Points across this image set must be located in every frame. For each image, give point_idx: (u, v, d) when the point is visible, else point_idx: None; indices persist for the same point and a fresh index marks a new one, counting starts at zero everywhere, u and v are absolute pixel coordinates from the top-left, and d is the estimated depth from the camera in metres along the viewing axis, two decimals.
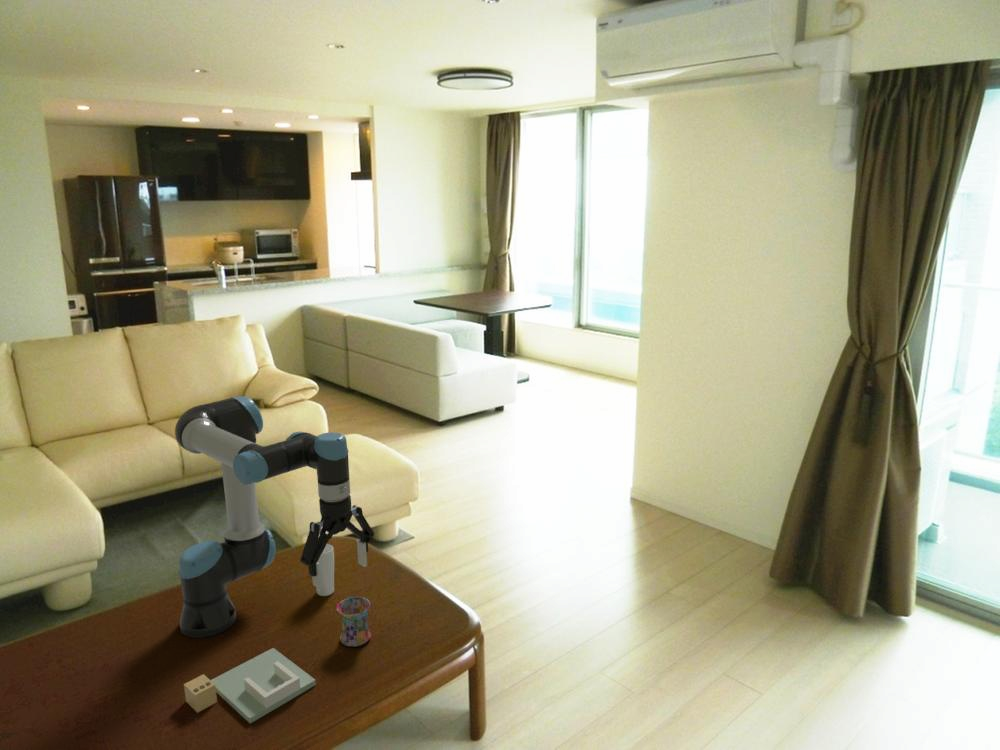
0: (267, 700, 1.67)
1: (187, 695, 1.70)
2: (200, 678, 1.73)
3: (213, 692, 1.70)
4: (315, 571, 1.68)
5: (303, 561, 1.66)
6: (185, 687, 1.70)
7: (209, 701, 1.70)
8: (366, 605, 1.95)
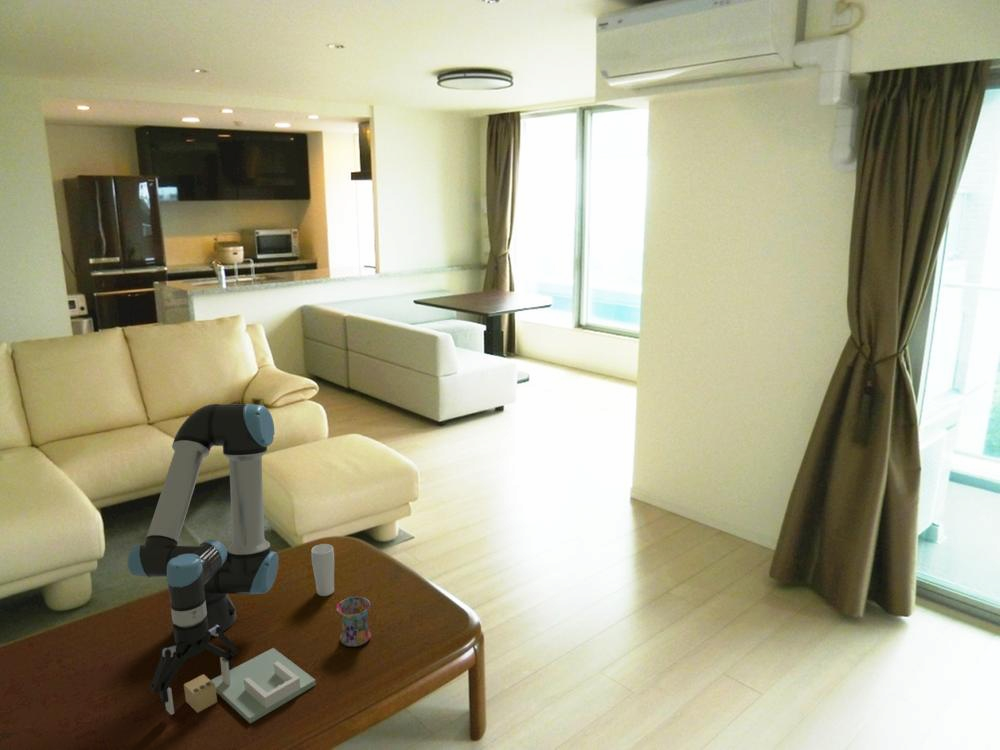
0: (267, 700, 1.67)
1: (187, 695, 1.70)
2: (200, 678, 1.73)
3: (213, 692, 1.70)
4: (166, 697, 1.64)
5: (152, 688, 1.61)
6: (185, 687, 1.70)
7: (209, 701, 1.70)
8: (366, 605, 1.95)
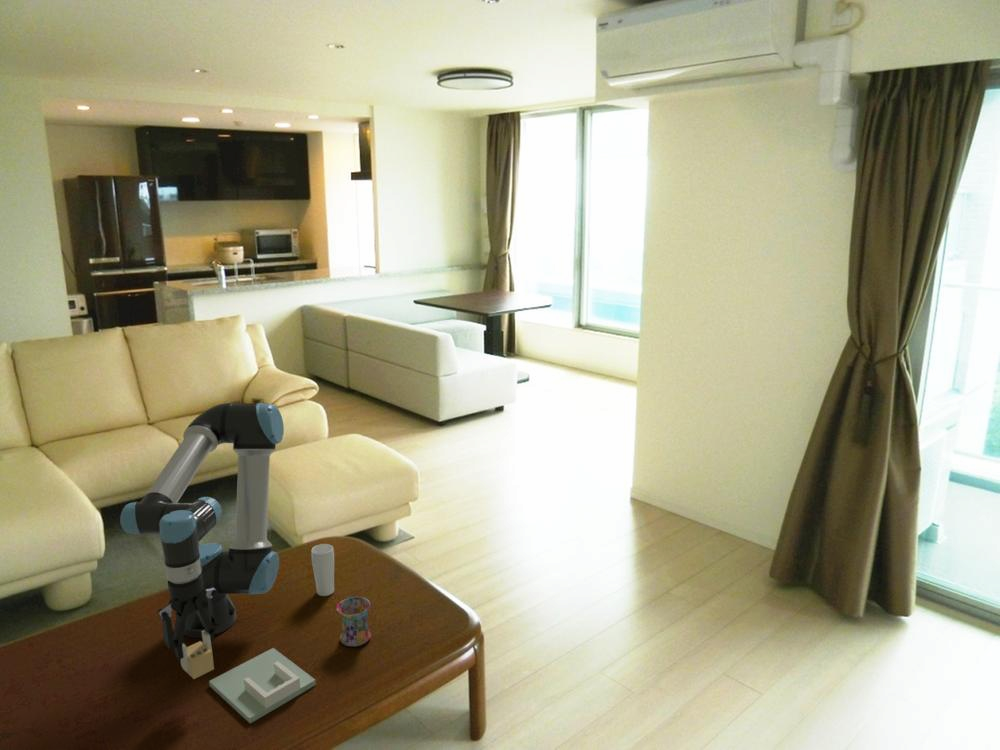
0: (267, 700, 1.67)
1: None
2: (197, 645, 1.71)
3: (210, 658, 1.68)
4: (182, 654, 1.65)
5: (167, 645, 1.63)
6: None
7: (206, 667, 1.68)
8: (366, 605, 1.95)
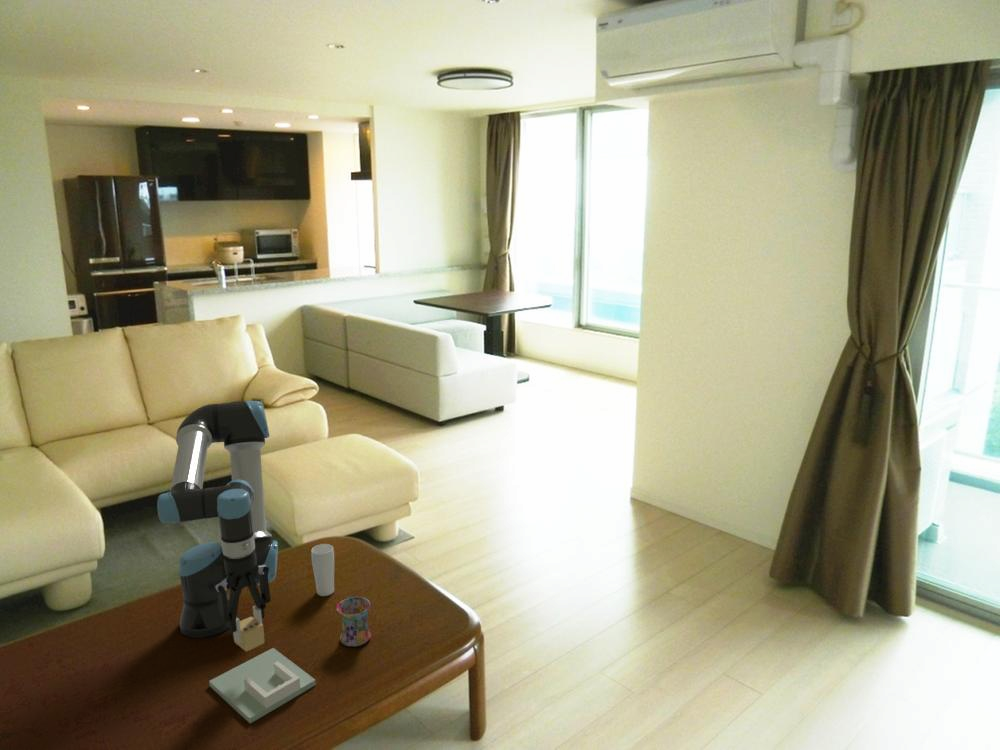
0: (267, 700, 1.67)
1: None
2: (248, 620, 1.78)
3: (261, 632, 1.76)
4: (235, 627, 1.73)
5: (222, 618, 1.71)
6: None
7: (257, 641, 1.75)
8: (366, 605, 1.95)
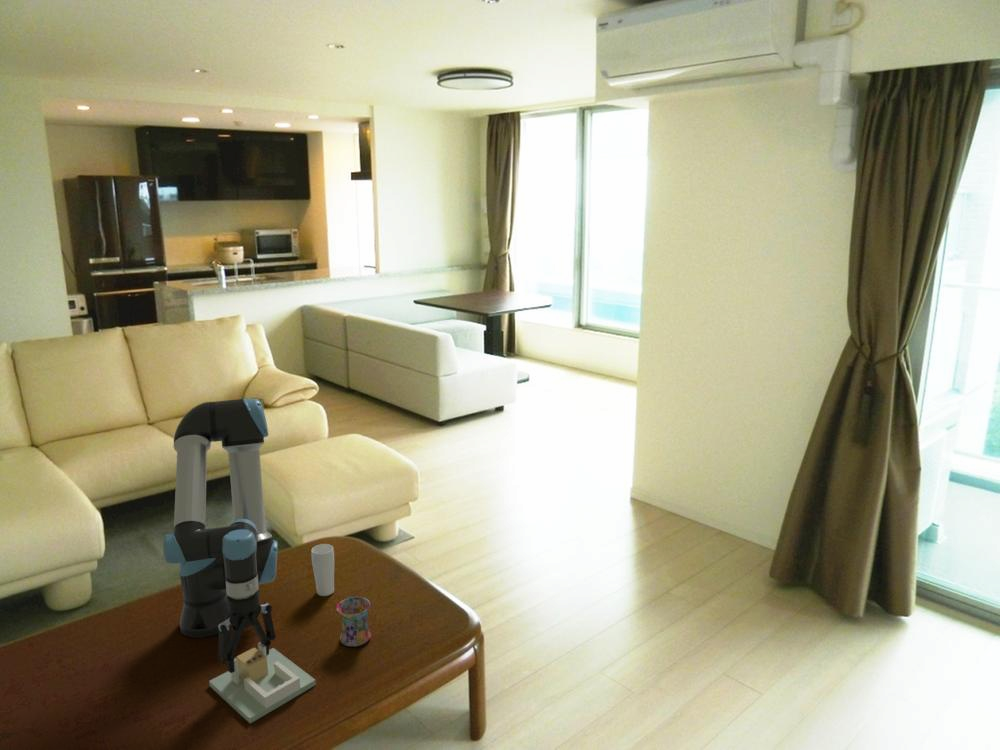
0: (267, 700, 1.67)
1: (240, 667, 1.78)
2: (251, 651, 1.80)
3: (264, 664, 1.78)
4: (233, 668, 1.74)
5: (220, 659, 1.72)
6: (238, 659, 1.78)
7: (261, 672, 1.77)
8: (366, 605, 1.95)
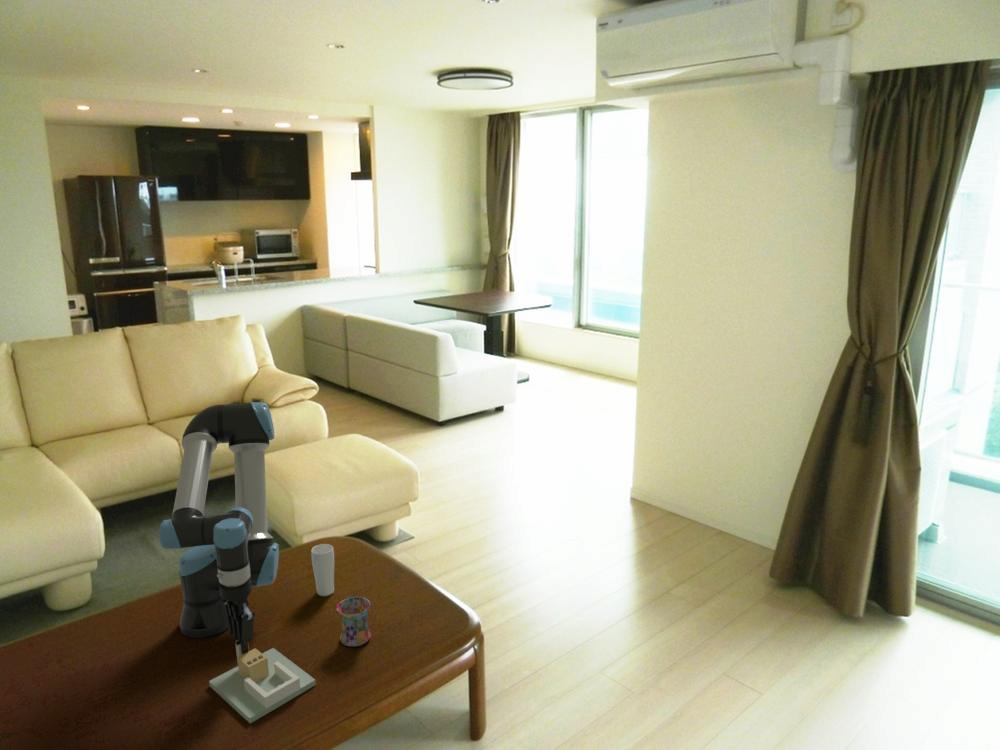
0: (267, 700, 1.67)
1: (241, 667, 1.77)
2: (252, 652, 1.80)
3: (265, 665, 1.78)
4: None
5: None
6: (238, 660, 1.78)
7: (261, 673, 1.77)
8: (366, 605, 1.95)
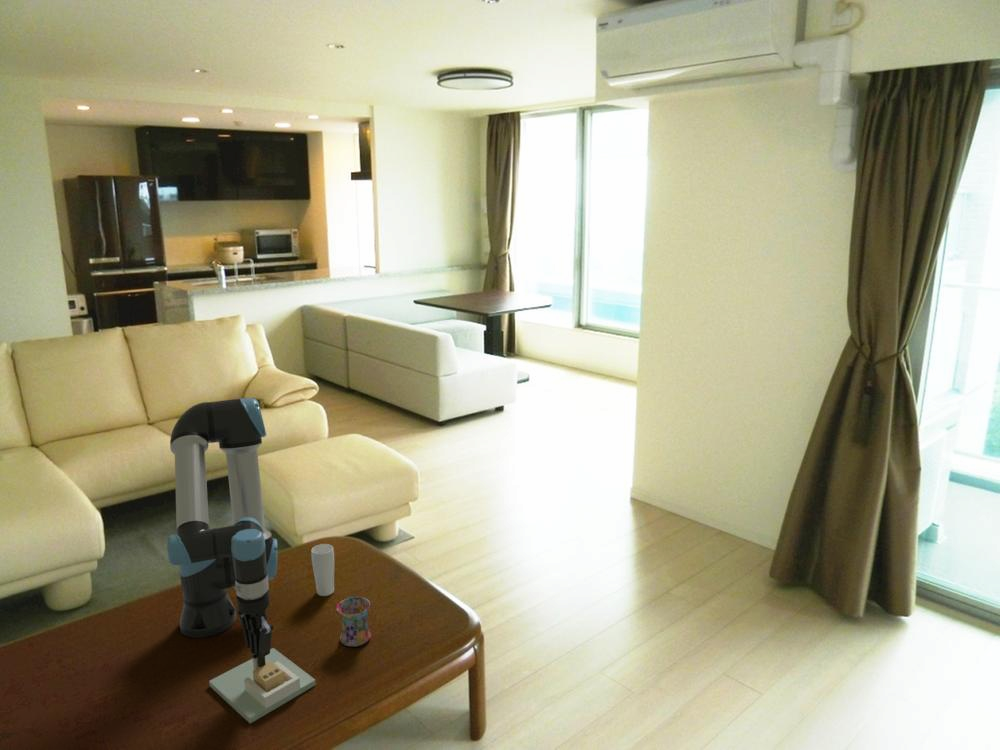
0: (267, 700, 1.67)
1: (256, 681, 1.72)
2: (268, 665, 1.75)
3: (282, 679, 1.72)
4: None
5: None
6: (254, 674, 1.72)
7: None
8: (366, 605, 1.95)
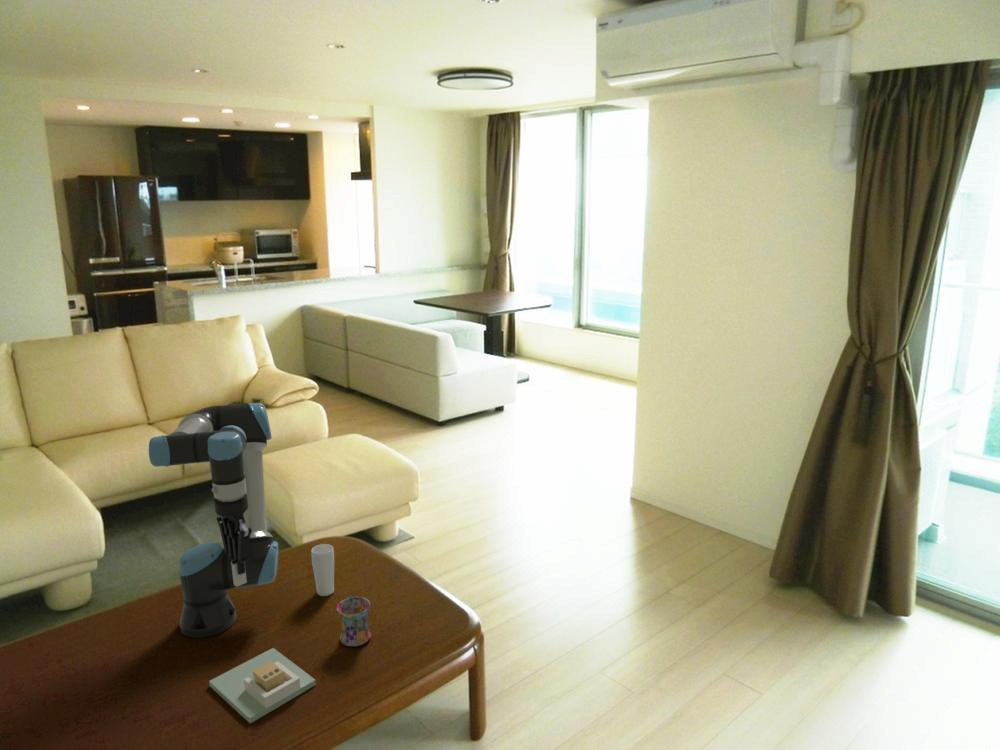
0: (267, 700, 1.67)
1: (256, 681, 1.72)
2: (268, 665, 1.75)
3: (282, 679, 1.72)
4: None
5: None
6: (254, 674, 1.72)
7: None
8: (366, 605, 1.95)
